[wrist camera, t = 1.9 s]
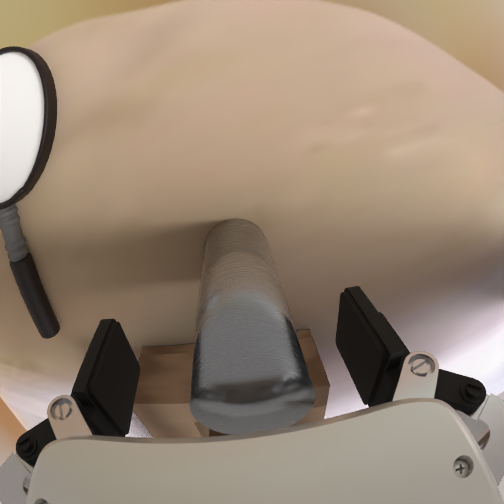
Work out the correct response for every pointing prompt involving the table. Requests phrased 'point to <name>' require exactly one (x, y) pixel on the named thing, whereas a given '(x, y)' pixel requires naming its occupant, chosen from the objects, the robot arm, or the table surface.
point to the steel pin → (245, 339)
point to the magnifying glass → (25, 164)
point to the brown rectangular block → (179, 387)
